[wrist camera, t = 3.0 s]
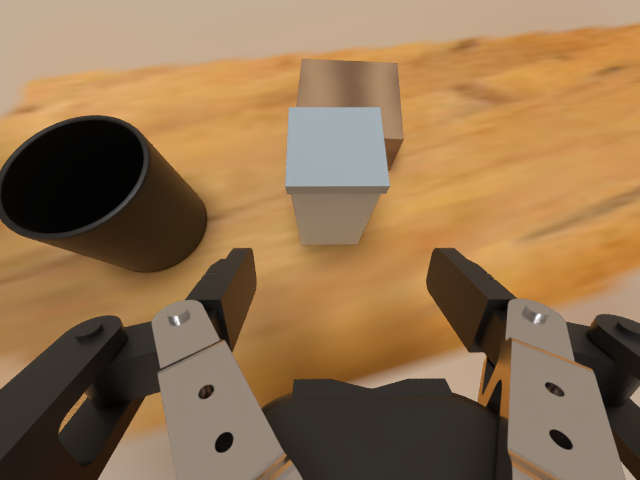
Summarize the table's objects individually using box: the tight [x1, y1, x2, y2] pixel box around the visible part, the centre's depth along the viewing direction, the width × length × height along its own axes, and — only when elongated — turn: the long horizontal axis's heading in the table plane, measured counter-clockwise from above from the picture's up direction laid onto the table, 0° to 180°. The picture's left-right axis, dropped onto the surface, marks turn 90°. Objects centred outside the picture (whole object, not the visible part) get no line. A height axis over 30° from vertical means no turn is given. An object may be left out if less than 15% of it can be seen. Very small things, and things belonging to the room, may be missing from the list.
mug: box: [0, 115, 206, 272], centre depth 20 cm, size 9×12×9 cm
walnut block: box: [296, 59, 404, 171], centre depth 26 cm, size 10×10×5 cm
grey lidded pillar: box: [285, 107, 390, 245], centre depth 19 cm, size 6×6×11 cm
